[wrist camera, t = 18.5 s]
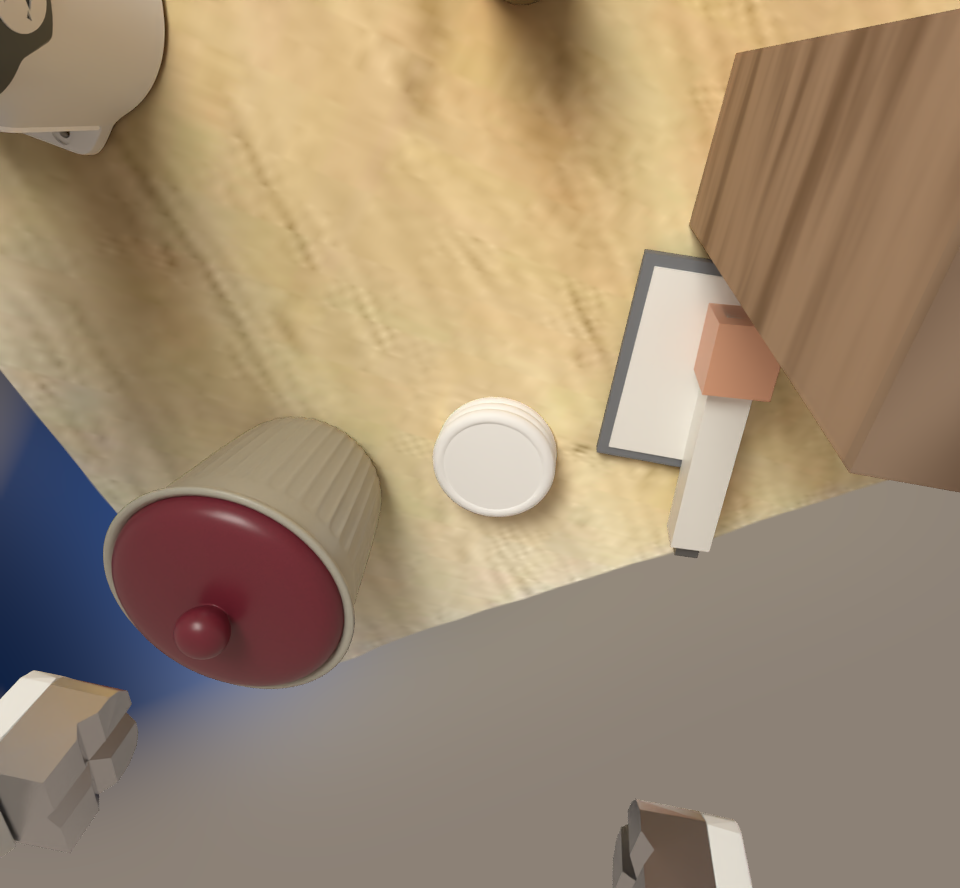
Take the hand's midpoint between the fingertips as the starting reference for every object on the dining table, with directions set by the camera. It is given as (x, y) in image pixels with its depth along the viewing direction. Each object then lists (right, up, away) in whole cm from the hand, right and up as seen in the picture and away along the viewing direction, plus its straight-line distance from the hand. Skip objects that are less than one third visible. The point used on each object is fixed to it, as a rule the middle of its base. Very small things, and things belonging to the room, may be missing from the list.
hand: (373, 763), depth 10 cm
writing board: (+17, +11, +38) cm, 43 cm away
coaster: (+3, +5, +45) cm, 45 cm away
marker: (+19, +6, +39) cm, 44 cm away
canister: (-13, +2, +49) cm, 50 cm away
